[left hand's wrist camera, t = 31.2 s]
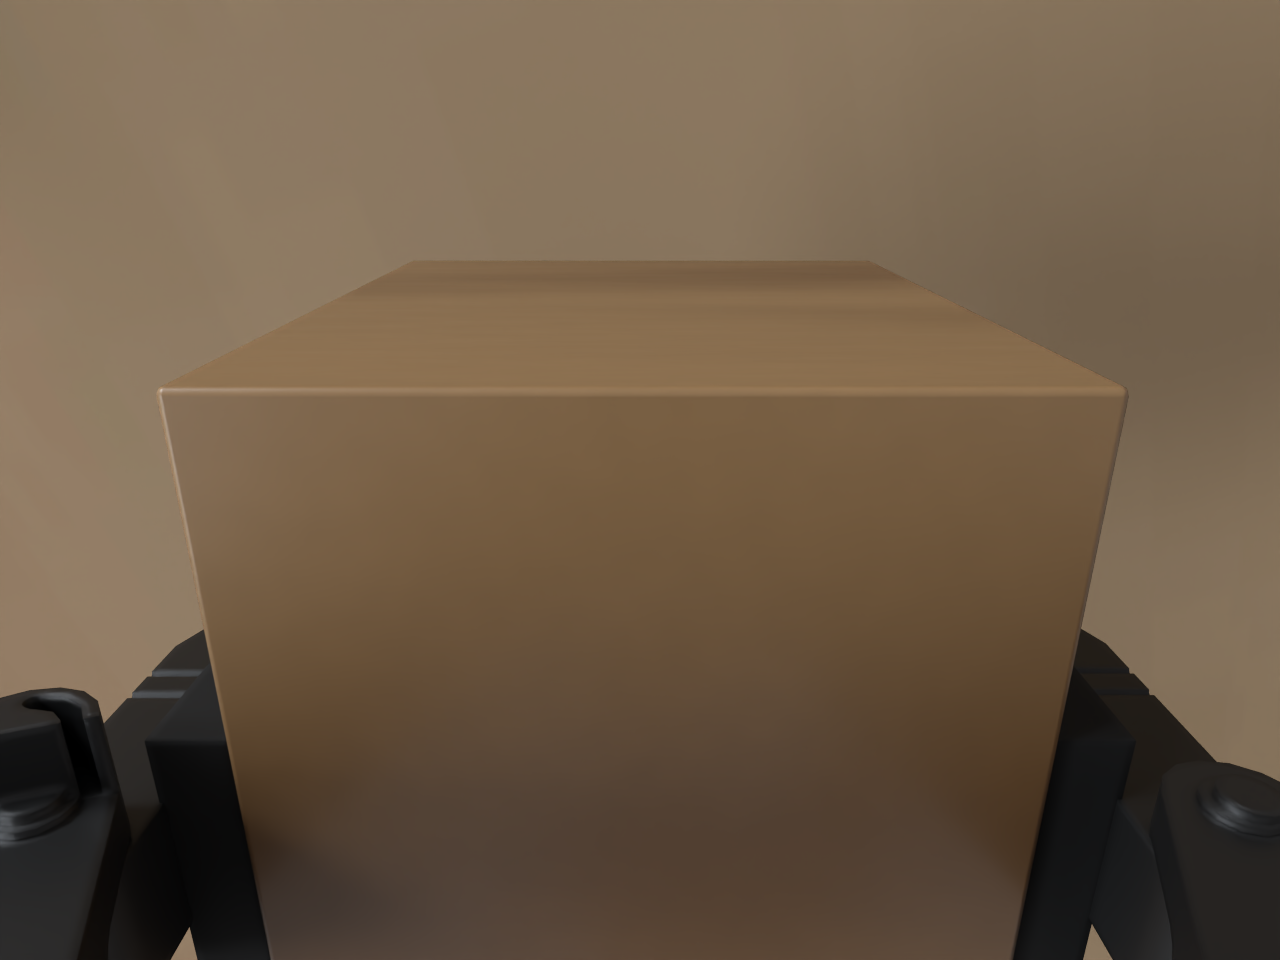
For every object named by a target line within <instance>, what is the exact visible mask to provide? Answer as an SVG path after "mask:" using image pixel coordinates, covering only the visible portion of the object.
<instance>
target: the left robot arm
mask: <svg viewBox="0 0 1280 960" xmlns="http://www.w3.org/2000/svg"><path fill="white" fill-rule="evenodd" d="M1091 925H1093V926H1094V928H1095V930H1096V932H1097V933H1098V935H1099V937H1100V938H1101V940H1102V942H1103V944H1104V945H1105V947H1106V949H1107V950H1108V952H1109V954H1110V956H1111V957H1112V959H1113V960H1280V782H1279V781H1277V780H1275V779H1273V778H1271V777H1269V776H1267V775H1265V774H1263V773H1260V772H1257V771H1253V770H1250V769H1247V768H1243V767H1240V766H1236V765H1233V764H1230V763H1221V762H1216V761H1215V760H1214V759H1213V758H1212V756H1211V755H1210V754H1209V753H1208V752H1207V751H1206V750H1205V749H1204V748H1203V747H1202V746H1201V745H1200V744H1199V743H1198V742H1197V740H1196V739H1195V738H1194V737H1193V736H1192V735H1191V734H1190V733H1189V732H1188V731H1187V730H1186V729H1185V728H1184V727H1183V726H1182V724H1181V723H1180V722H1179V721H1178V720H1177V719H1176V718H1175V717H1174V716H1173V715H1172V714H1171V713H1170V712H1169V711H1168V710H1167V708H1166V707H1165V706H1164V705H1163V704H1162V703H1161V702H1160V701H1159V700H1158V699H1157V698H1156V697H1155V696H1154V695H1149V689H1148V688H1147V687H1146V686H1145V685H1144V684H1143V683H1142V682H1141V681H1140V680H1139V679H1138V677H1137V676H1136V675H1135V674H1130V673H1129V668H1128V667H1127V666H1126V665H1125V664H1124V663H1123V661H1122V660H1121V659H1120V658H1119V657H1118V656H1117V655H1116V654H1115V653H1114V652H1113V651H1112V650H1111V649H1110V648H1109V647H1108V645H1107V644H1106V643H1104V642H1102V641H1101V640H1099V639H1097V638H1096V637H1094V636H1092V635H1091V634H1089V633H1087V632H1086V631H1084V630H1082V629H1081V631H1080V636H1079V640H1078V645H1077V650H1076V655H1075V660H1074V665H1073V670H1072V674H1071V679H1070V684H1069V689H1068V694H1067V699H1066V704H1065V708H1064V713H1063V718H1062V723H1061V728H1060V733H1059V738H1058V743H1057V747H1056V752H1055V757H1054V762H1053V767H1052V772H1051V777H1050V781H1049V786H1048V791H1047V796H1046V801H1045V806H1044V811H1043V815H1042V820H1041V825H1040V830H1039V835H1038V840H1037V845H1036V850H1035V854H1034V859H1033V864H1032V869H1031V874H1030V879H1029V884H1028V888H1027V893H1026V898H1025V903H1024V908H1023V913H1022V918H1021V922H1020V927H1019V932H1018V937H1017V942H1016V947H1015V952H1014V957H1013V960H1083V957H1084V953H1085V949H1086V945H1087V941H1088V937H1089V933H1090V929H1091ZM189 927H190V930H191V934H192V938H193V943H194V947H195V951H196V955H197V959H198V960H271V958H270V953H269V948H268V943H267V938H266V933H265V928H264V924H263V919H262V914H261V909H260V904H259V899H258V894H257V889H256V884H255V879H254V874H253V869H252V864H251V859H250V854H249V849H248V845H247V840H246V835H245V830H244V825H243V820H242V815H241V810H240V805H239V800H238V795H237V790H236V785H235V780H234V775H233V770H232V766H231V761H230V756H229V751H228V746H227V741H226V736H225V731H224V726H223V721H222V716H221V711H220V706H219V701H218V696H217V691H216V687H215V682H214V677H213V672H212V667H211V662H210V657H209V652H208V647H207V642H206V637H205V632H204V630H202V631H201V632H199V633H197V634H195V635H194V636H192V637H190V638H189V639H187V640H185V641H184V642H182V643H180V644H179V645H177V646H176V647H175V648H174V649H173V650H172V651H171V652H170V653H169V654H168V655H167V656H166V657H165V658H164V659H163V661H162V662H161V663H160V664H159V665H158V666H157V667H156V668H155V669H154V670H153V671H152V677H147V678H146V679H145V680H144V681H143V682H142V683H141V684H140V685H139V686H138V687H137V688H136V690H135V691H134V692H133V696H132V698H127V699H126V700H125V701H124V702H123V704H122V705H121V706H120V707H119V708H118V709H117V710H116V711H115V712H114V713H113V714H112V715H111V716H110V718H109V719H108V720H107V721H106V722H105V723H103V719H102V716H101V712H100V708H99V704H98V701H97V700H96V699H94V698H93V697H92V696H90V695H89V694H87V693H86V692H84V691H80V690H73V689H67V688H50V689H39V690H29V691H25V692H21V693H17V694H14V695H10V696H6V697H2V698H0V960H171V958H172V956H173V954H174V953H175V951H176V949H177V948H178V946H179V944H180V942H181V941H182V939H183V937H184V935H185V934H186V932H187V930H188V928H189Z"/></svg>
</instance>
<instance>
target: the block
mask: <svg viewBox="0 0 1280 960" xmlns="http://www.w3.org/2000/svg"><path fill="white" fill-rule="evenodd" d="M157 400H158V405H159V410H160V415H161V420H162V425H163V430H164V435H165V440H166V445H167V449H168V454H169V459H170V464H171V469H172V474H173V479H174V484H175V489H176V494H177V499H178V504H179V509H180V514H181V519H182V524H183V528H184V533H185V538H186V543H187V548H188V553H189V558H190V563H191V568H192V573H193V578H194V583H195V588H196V593H197V598H198V603H199V607H200V612H201V617H202V622H203V627H204V632H205V637H206V642H207V647H208V652H209V657H210V662H211V667H212V672H213V677H214V682H215V687H216V691H217V696H218V701H219V706H220V711H221V716H222V721H223V726H224V731H225V736H226V741H227V746H228V751H229V756H230V761H231V766H232V770H233V775H234V780H235V785H236V790H237V795H238V800H239V805H240V810H241V815H242V820H243V825H244V830H245V835H246V840H247V845H248V849H249V854H250V859H251V864H252V869H253V874H254V879H255V884H256V889H257V894H258V899H259V904H260V909H261V914H262V919H263V924H264V928H265V933H266V938H267V943H268V948H269V953H270V958H271V960H1013V957H1014V952H1015V947H1016V942H1017V937H1018V932H1019V927H1020V922H1021V918H1022V913H1023V908H1024V903H1025V898H1026V893H1027V888H1028V884H1029V879H1030V874H1031V869H1032V864H1033V859H1034V854H1035V850H1036V845H1037V840H1038V835H1039V830H1040V825H1041V820H1042V815H1043V811H1044V806H1045V801H1046V796H1047V791H1048V786H1049V781H1050V777H1051V772H1052V767H1053V762H1054V757H1055V752H1056V747H1057V743H1058V738H1059V733H1060V728H1061V723H1062V718H1063V713H1064V708H1065V704H1066V699H1067V694H1068V689H1069V684H1070V679H1071V674H1072V670H1073V665H1074V660H1075V655H1076V650H1077V645H1078V640H1079V636H1080V631H1081V626H1082V621H1083V616H1084V611H1085V606H1086V601H1087V597H1088V592H1089V587H1090V582H1091V577H1092V572H1093V567H1094V563H1095V558H1096V553H1097V548H1098V543H1099V538H1100V533H1101V528H1102V524H1103V519H1104V514H1105V509H1106V504H1107V499H1108V494H1109V490H1110V485H1111V480H1112V475H1113V470H1114V465H1115V460H1116V456H1117V451H1118V446H1119V441H1120V436H1121V431H1122V426H1123V421H1124V417H1125V412H1126V407H1127V402H1128V390H1127V389H1126V388H1125V387H1123V386H1121V385H1119V384H1117V383H1115V382H1113V381H1111V380H1109V379H1107V378H1105V377H1103V376H1101V375H1099V374H1097V373H1095V372H1093V371H1091V370H1089V369H1087V368H1085V367H1083V366H1081V365H1079V364H1077V363H1075V362H1073V361H1071V360H1069V359H1066V358H1064V357H1062V356H1060V355H1058V354H1056V353H1054V352H1052V351H1050V350H1048V349H1046V348H1044V347H1042V346H1040V345H1038V344H1036V343H1034V342H1032V341H1030V340H1028V339H1026V338H1024V337H1022V336H1020V335H1018V334H1016V333H1014V332H1012V331H1010V330H1008V329H1006V328H1004V327H1002V326H1000V325H998V324H996V323H994V322H992V321H990V320H987V319H985V318H983V317H981V316H979V315H977V314H975V313H973V312H971V311H969V310H967V309H965V308H963V307H961V306H959V305H957V304H955V303H953V302H951V301H949V300H947V299H945V298H943V297H941V296H939V295H937V294H935V293H933V292H931V291H929V290H927V289H925V288H923V287H921V286H919V285H917V284H915V283H913V282H910V281H908V280H906V279H904V278H902V277H900V276H898V275H896V274H894V273H892V272H890V271H888V270H886V269H884V268H882V267H880V266H878V265H876V264H874V263H872V262H870V261H412V262H410V263H408V264H406V265H404V266H402V267H400V268H398V269H396V270H394V271H392V272H390V273H388V274H386V275H384V276H382V277H380V278H378V279H376V280H374V281H372V282H370V283H368V284H366V285H364V286H362V287H360V288H358V289H356V290H354V291H352V292H350V293H348V294H346V295H344V296H342V297H340V298H338V299H336V300H334V301H332V302H330V303H328V304H326V305H324V306H322V307H320V308H318V309H316V310H314V311H312V312H310V313H308V314H306V315H304V316H302V317H300V318H298V319H296V320H294V321H292V322H290V323H288V324H286V325H284V326H282V327H280V328H278V329H276V330H274V331H272V332H270V333H268V334H266V335H264V336H262V337H260V338H258V339H256V340H254V341H252V342H250V343H248V344H246V345H244V346H242V347H240V348H238V349H236V350H234V351H232V352H230V353H228V354H226V355H224V356H222V357H220V358H218V359H216V360H214V361H211V362H209V363H207V364H205V365H203V366H201V367H199V368H197V369H195V370H193V371H191V372H189V373H187V374H185V375H183V376H181V377H179V378H177V379H175V380H173V381H171V382H169V383H167V384H165V385H163V386H161V387H159V389H158V391H157Z"/></svg>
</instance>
